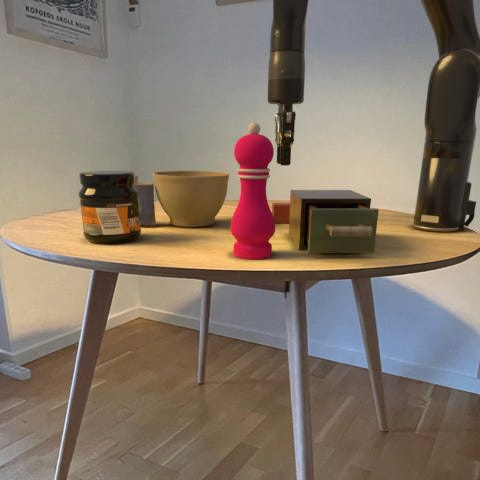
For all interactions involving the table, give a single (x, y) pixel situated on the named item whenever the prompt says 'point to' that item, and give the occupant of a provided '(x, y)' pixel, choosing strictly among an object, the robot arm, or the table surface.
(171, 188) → the planter bowl
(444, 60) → the robot arm
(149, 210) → the flask
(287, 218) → the block
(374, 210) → the drawer
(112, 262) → the table surface
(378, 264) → the table surface
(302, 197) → the cabinet
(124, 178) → the supplement container
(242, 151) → the pepper mill
